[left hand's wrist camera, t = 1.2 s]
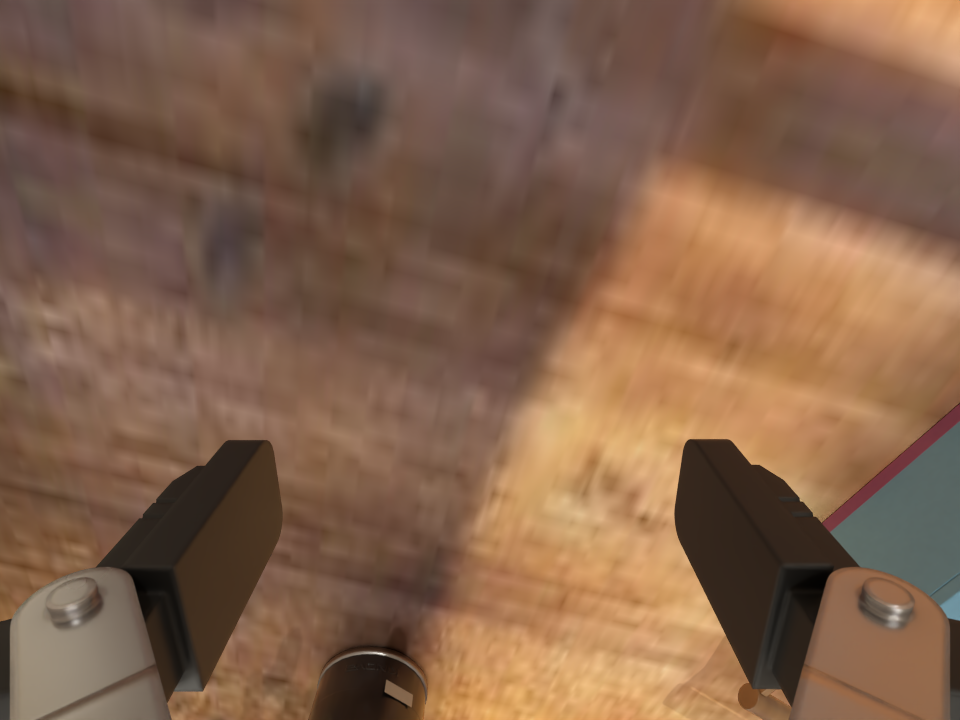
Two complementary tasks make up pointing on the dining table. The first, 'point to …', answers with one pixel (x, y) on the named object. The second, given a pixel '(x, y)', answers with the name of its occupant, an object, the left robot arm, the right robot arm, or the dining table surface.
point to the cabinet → (911, 517)
